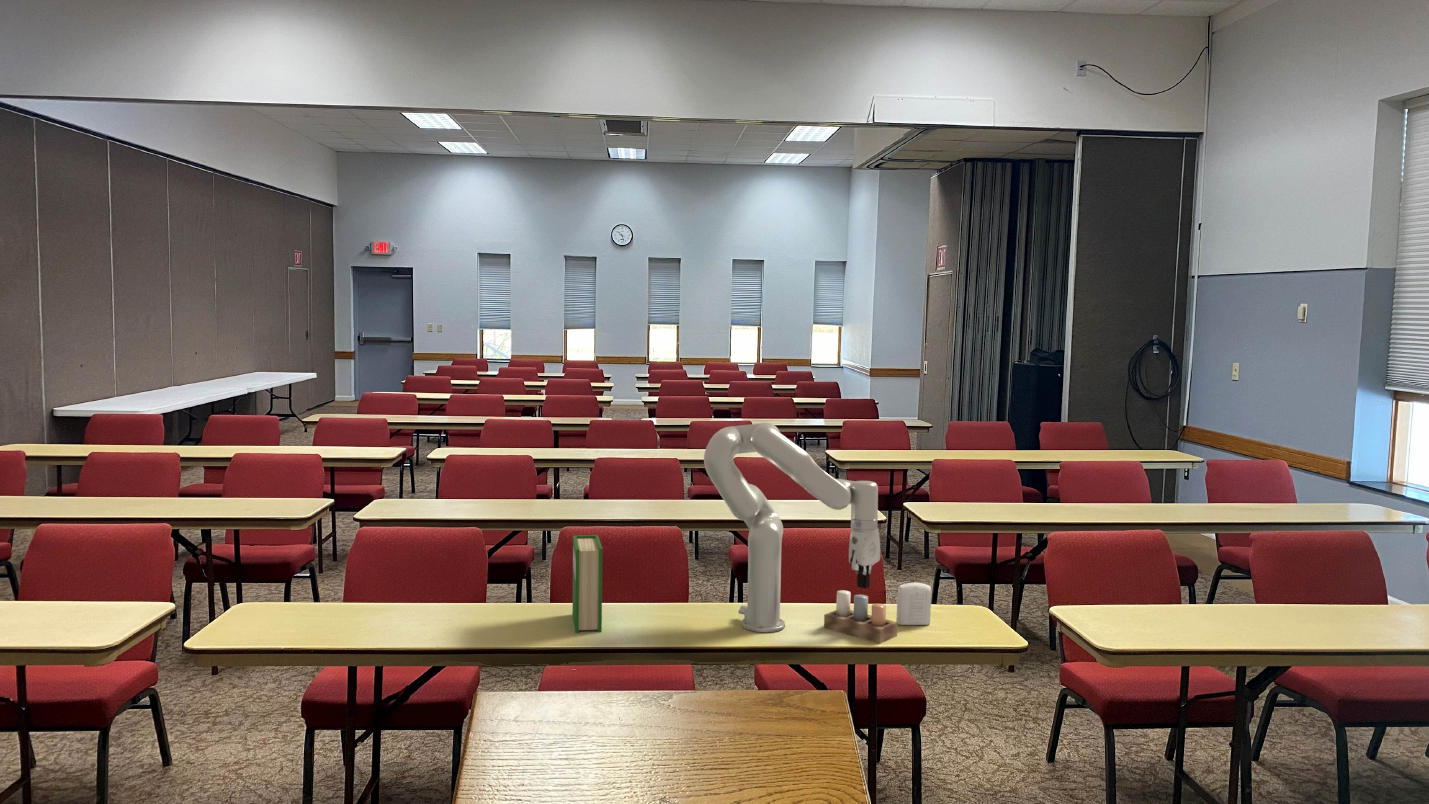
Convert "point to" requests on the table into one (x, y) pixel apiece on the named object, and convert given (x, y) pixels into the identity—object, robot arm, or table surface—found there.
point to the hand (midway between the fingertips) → (863, 587)
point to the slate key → (860, 608)
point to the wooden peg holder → (860, 627)
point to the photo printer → (913, 604)
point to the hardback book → (587, 583)
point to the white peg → (843, 603)
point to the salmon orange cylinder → (878, 615)
